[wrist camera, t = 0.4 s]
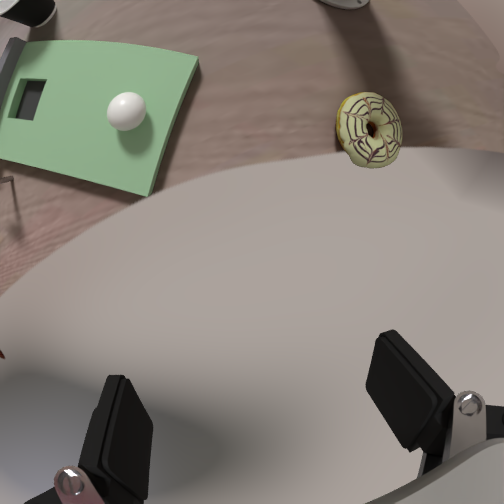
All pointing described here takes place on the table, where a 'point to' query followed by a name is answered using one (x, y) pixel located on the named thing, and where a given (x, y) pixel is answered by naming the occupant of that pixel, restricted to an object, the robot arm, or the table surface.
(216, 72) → the table surface
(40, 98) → the mat
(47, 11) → the dixie cup
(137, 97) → the ball
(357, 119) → the decorated donut
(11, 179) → the flag pin
